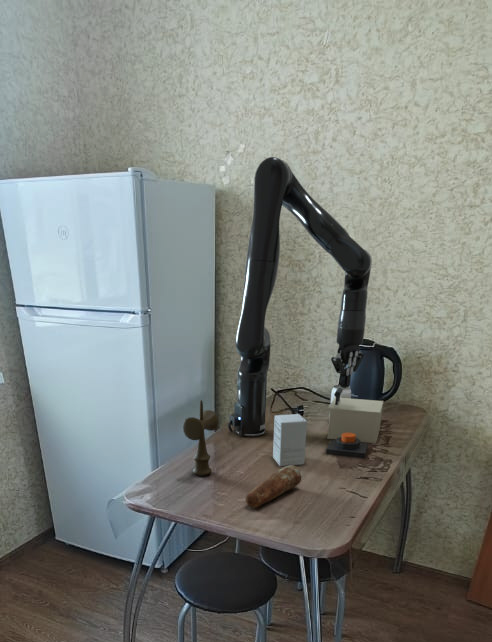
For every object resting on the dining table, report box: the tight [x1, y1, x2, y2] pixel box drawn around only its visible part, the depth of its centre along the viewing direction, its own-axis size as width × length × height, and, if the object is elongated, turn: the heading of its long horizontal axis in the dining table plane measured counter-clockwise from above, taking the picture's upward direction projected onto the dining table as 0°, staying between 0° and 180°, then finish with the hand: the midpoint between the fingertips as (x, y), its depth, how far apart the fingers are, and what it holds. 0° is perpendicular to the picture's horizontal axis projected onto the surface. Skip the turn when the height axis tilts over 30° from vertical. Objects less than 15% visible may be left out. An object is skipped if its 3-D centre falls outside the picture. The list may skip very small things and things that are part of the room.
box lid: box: [326, 388, 384, 415], centre depth 179 cm, size 16×14×5 cm
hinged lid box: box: [327, 405, 384, 444], centre depth 182 cm, size 15×14×9 cm
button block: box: [325, 437, 369, 459], centre depth 169 cm, size 11×9×4 cm
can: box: [328, 384, 352, 418], centre depth 194 cm, size 6×6×12 cm
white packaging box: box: [272, 413, 308, 467], centre depth 160 cm, size 7×7×13 cm
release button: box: [341, 433, 356, 443], centre depth 168 cm, size 4×4×2 cm
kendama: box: [182, 399, 220, 477], centre depth 150 cm, size 6×10×20 cm, turn 150°
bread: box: [245, 465, 302, 509], centre depth 140 cm, size 6×19×6 cm, turn 140°
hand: (344, 387), depth 172 cm, fingers closed
